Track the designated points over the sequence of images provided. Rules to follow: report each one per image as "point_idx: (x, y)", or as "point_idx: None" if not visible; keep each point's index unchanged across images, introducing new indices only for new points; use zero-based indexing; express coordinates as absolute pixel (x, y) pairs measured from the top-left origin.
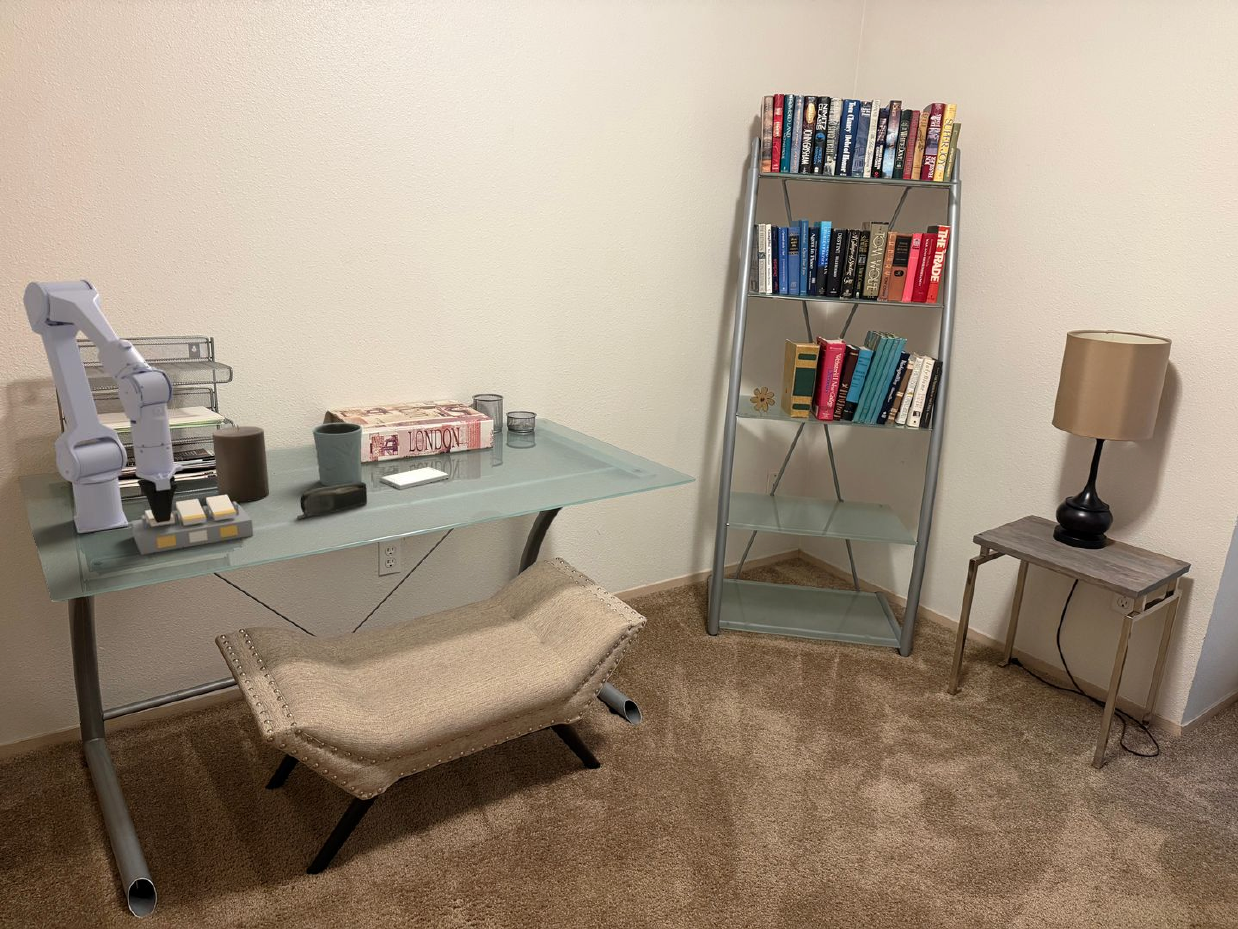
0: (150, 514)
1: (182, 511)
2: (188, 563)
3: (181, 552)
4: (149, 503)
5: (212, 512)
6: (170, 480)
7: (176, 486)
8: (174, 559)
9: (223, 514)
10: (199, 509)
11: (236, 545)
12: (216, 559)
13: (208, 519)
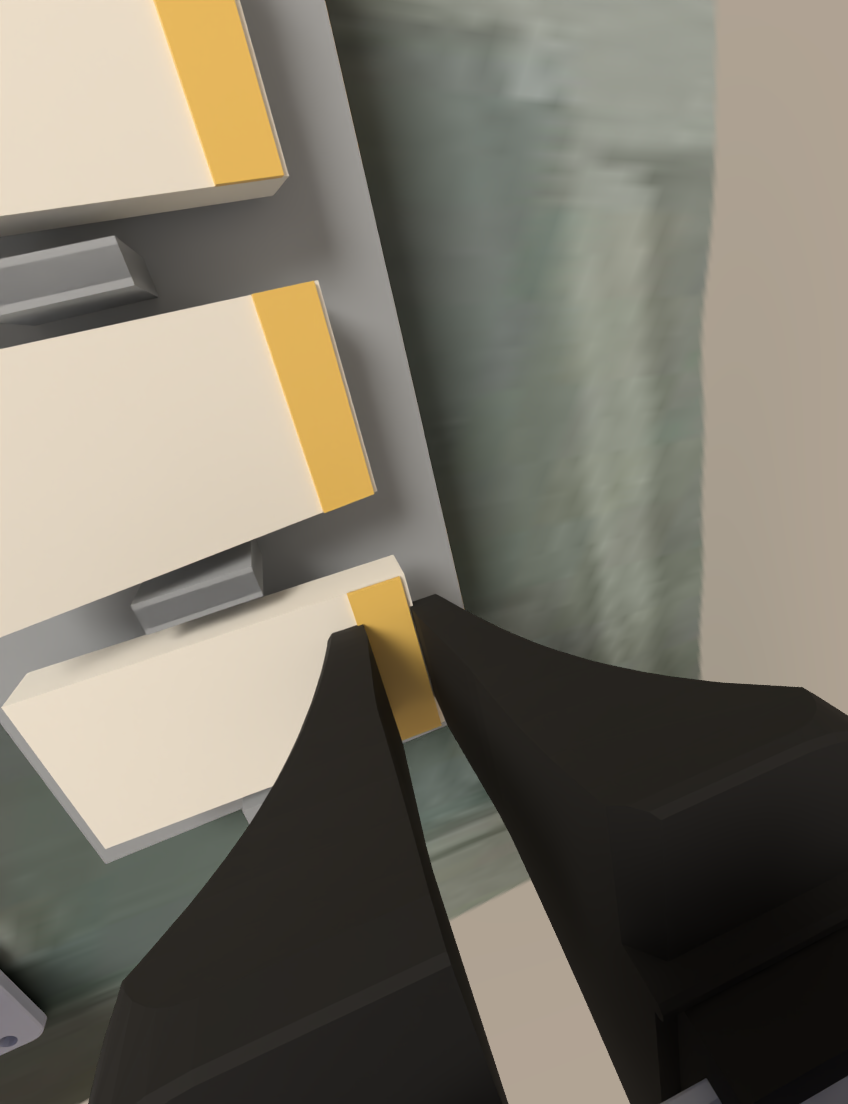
0: (248, 775)
1: (191, 536)
2: (652, 400)
3: (478, 459)
4: (425, 846)
5: (165, 198)
6: (448, 944)
7: (827, 705)
8: (569, 480)
9: (249, 49)
10: (133, 358)
11: (462, 72)
12: (661, 239)
13: (150, 274)
